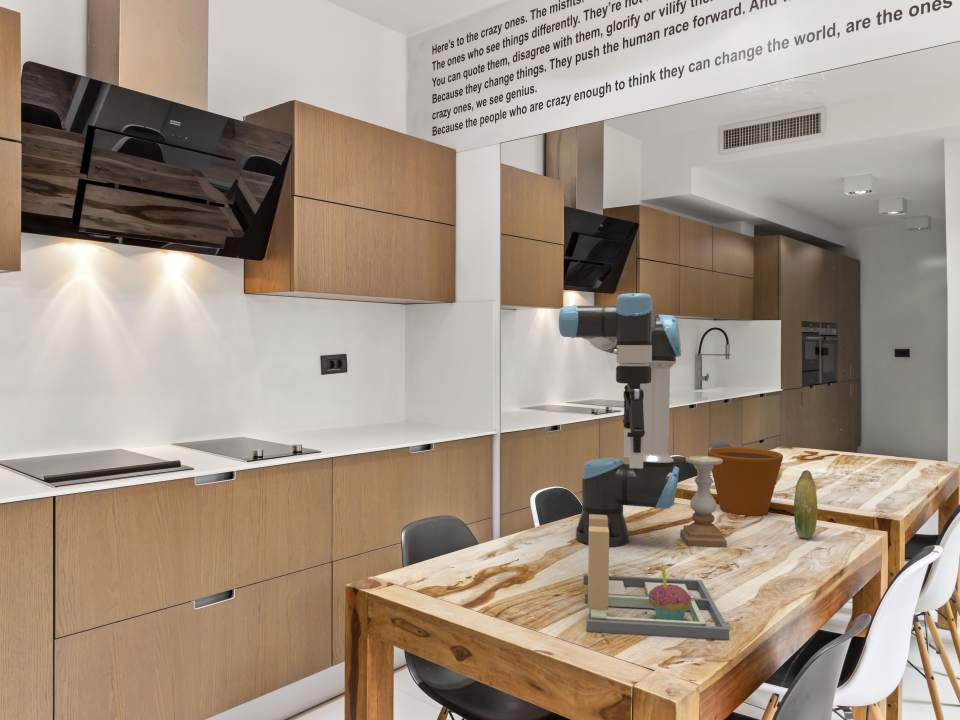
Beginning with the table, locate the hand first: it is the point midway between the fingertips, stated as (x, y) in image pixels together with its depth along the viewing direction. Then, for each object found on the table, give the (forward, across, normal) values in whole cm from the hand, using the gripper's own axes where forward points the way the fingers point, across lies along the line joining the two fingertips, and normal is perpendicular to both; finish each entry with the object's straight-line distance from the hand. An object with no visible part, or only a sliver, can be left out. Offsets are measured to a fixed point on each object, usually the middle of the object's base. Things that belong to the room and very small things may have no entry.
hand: (632, 462), depth 153 cm
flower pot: (+31, -89, +46) cm, 105 cm away
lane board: (+31, +3, +3) cm, 31 cm away
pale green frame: (+30, +9, +1) cm, 32 cm away
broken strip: (+30, -4, +2) cm, 31 cm away
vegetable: (+31, -57, +55) cm, 85 cm away
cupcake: (+31, +9, +7) cm, 33 cm away
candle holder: (+31, -50, +25) cm, 64 cm away
